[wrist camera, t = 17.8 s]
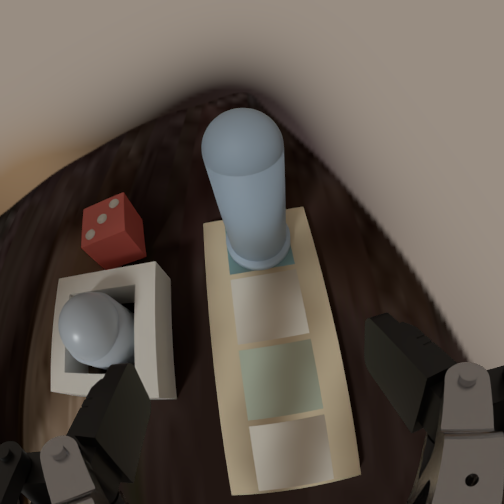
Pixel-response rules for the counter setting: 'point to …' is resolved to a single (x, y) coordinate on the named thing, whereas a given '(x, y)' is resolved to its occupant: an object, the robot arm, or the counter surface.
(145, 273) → the base
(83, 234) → the die
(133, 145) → the counter surface
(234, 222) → the pawn
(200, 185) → the counter surface
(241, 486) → the track
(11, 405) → the counter surface
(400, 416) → the robot arm
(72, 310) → the light blue rounded piece
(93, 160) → the counter surface
